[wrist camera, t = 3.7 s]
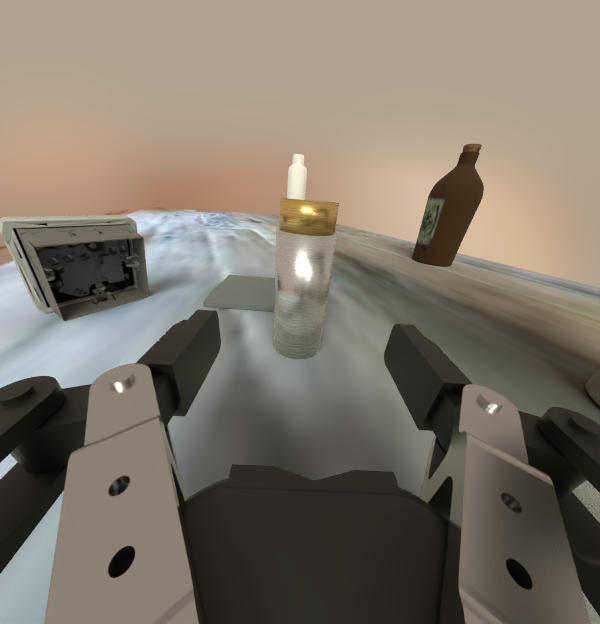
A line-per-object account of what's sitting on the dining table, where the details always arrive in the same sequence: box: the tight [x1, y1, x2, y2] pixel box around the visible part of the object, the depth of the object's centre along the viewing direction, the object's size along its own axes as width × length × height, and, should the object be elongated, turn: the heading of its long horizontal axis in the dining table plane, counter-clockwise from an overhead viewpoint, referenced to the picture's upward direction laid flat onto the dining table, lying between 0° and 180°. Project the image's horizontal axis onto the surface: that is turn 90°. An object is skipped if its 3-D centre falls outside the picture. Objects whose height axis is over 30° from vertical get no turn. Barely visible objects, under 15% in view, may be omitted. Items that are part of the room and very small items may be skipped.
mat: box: [204, 275, 275, 312], centre depth 30 cm, size 10×10×1 cm
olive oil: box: [412, 144, 484, 266], centre depth 52 cm, size 11×11×25 cm
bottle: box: [287, 154, 307, 200], centre depth 97 cm, size 8×8×28 cm
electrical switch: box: [0, 215, 149, 321], centre depth 22 cm, size 9×5×9 cm, turn 148°
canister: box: [273, 198, 339, 359], centre depth 18 cm, size 4×4×12 cm
